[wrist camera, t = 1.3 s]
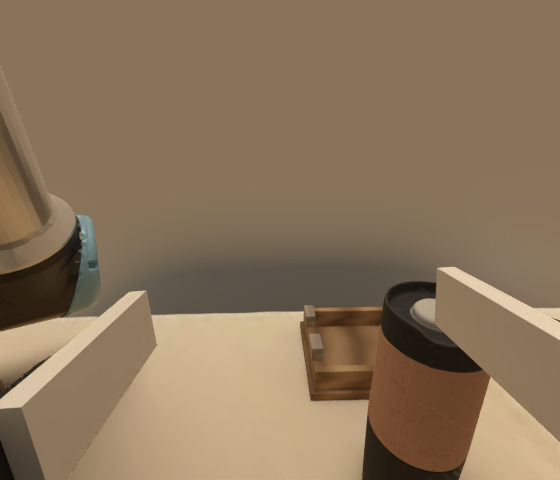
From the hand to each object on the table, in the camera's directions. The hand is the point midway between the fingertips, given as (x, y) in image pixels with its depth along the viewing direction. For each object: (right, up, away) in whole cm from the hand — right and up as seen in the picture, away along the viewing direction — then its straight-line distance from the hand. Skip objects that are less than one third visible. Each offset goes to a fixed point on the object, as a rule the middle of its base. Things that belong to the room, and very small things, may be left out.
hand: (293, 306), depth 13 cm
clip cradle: (+11, -14, +31) cm, 35 cm away
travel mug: (+11, -21, +14) cm, 27 cm away
